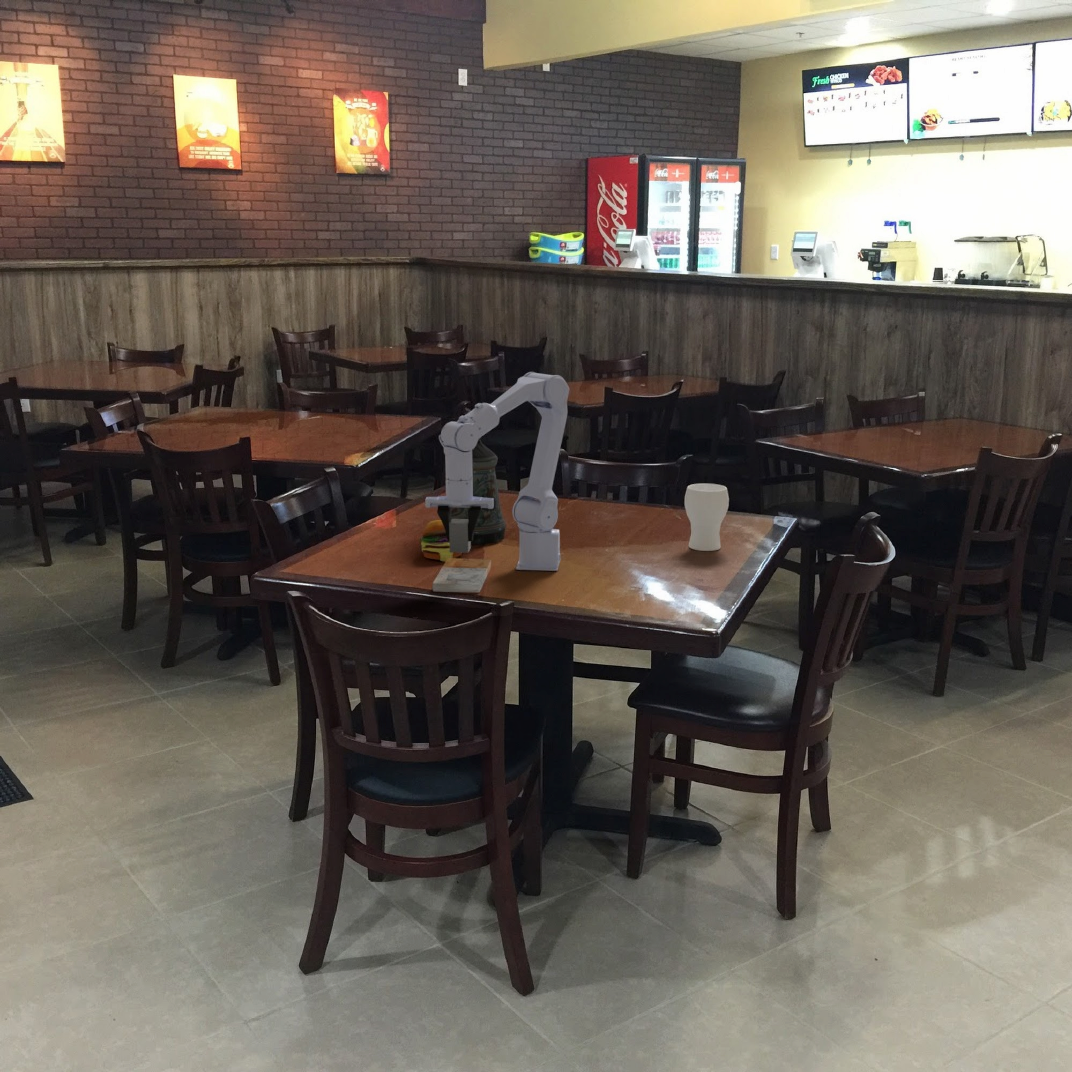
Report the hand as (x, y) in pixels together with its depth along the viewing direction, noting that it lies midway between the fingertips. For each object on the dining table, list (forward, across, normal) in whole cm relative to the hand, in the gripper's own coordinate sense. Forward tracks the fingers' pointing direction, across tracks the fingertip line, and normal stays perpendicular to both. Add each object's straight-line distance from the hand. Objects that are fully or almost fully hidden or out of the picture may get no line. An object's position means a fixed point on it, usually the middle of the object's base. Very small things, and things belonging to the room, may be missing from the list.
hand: (460, 540), depth 244 cm
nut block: (+2, 0, 0) cm, 2 cm away
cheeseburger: (+10, -8, +22) cm, 25 cm away
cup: (+10, +55, +36) cm, 67 cm away
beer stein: (+10, -4, +41) cm, 43 cm away
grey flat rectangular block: (+10, 0, +4) cm, 10 cm away
